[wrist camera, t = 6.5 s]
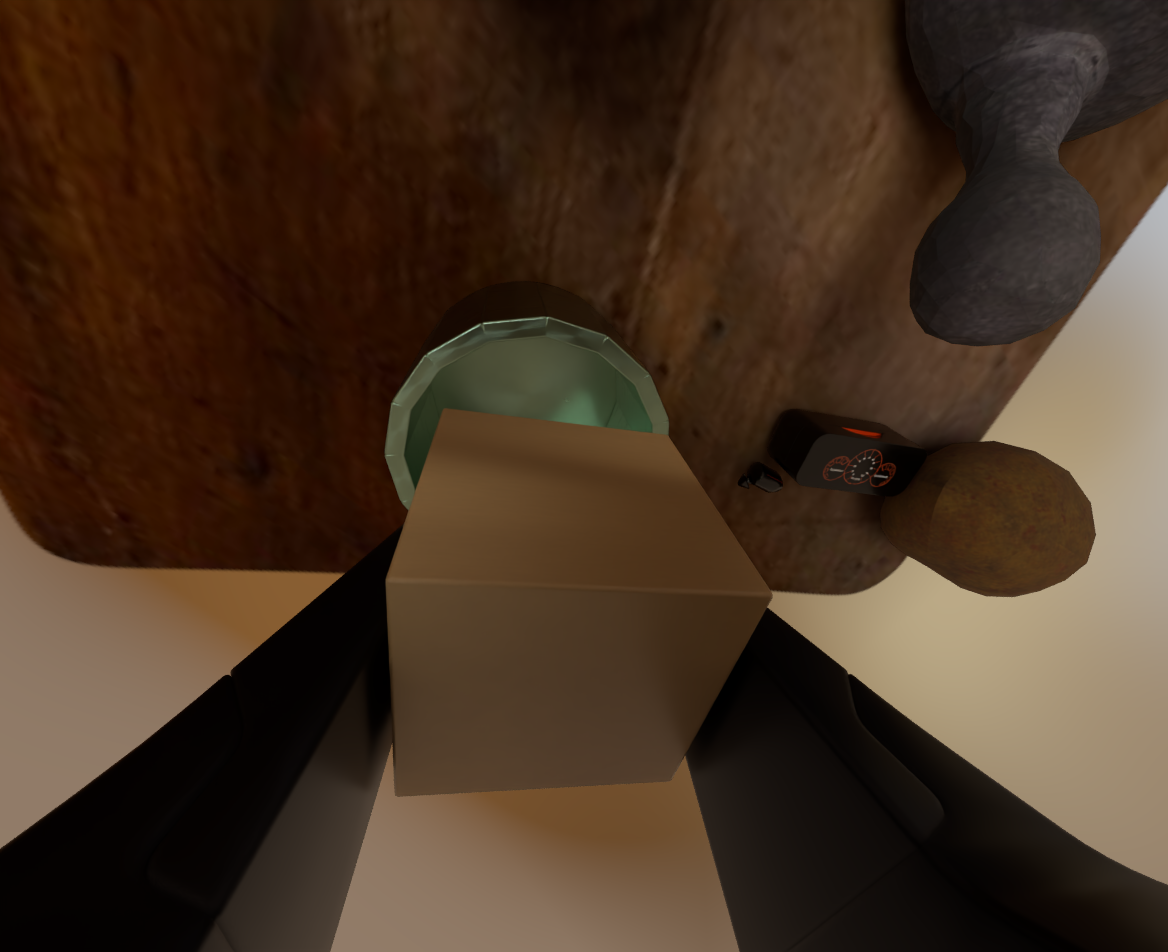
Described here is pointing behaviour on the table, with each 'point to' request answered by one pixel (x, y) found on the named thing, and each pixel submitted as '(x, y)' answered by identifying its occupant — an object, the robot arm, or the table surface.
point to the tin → (518, 372)
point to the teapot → (1023, 151)
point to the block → (558, 609)
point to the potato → (992, 519)
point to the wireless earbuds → (838, 455)
